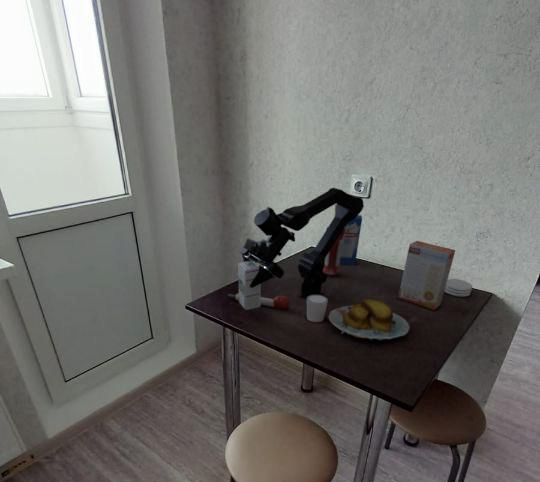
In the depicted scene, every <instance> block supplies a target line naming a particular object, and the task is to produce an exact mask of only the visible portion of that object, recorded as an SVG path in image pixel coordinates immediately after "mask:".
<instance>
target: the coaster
mask: <svg viewBox="0 0 540 482" xmlns="http://www.w3.org/2000/svg"><path fill="white" fill-rule="evenodd" d="M472 289H473V284H471V283H470V282H468V281H466V280H464V279H458V278H448V279H447V283H446V287H445V290H444V293H446V294H448V295H450V296H453V297H458V298H466V297H468V296H470V295H471V294H472V293H471V292H472Z"/></svg>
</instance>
